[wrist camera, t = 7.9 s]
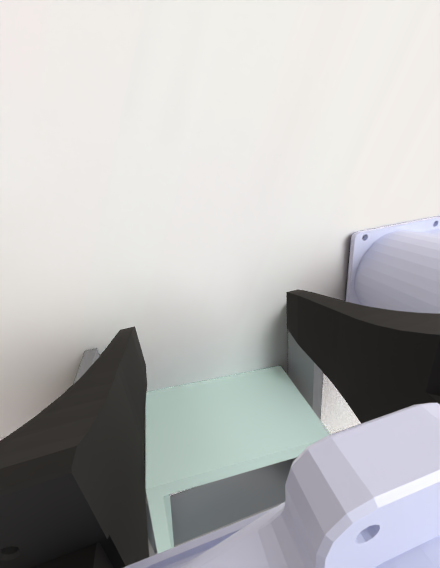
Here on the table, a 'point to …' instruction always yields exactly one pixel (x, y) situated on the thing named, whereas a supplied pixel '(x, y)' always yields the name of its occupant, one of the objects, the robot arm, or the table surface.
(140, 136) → the table surface
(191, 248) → the table surface
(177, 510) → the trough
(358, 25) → the table surface
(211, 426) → the l-shaped corner panel
